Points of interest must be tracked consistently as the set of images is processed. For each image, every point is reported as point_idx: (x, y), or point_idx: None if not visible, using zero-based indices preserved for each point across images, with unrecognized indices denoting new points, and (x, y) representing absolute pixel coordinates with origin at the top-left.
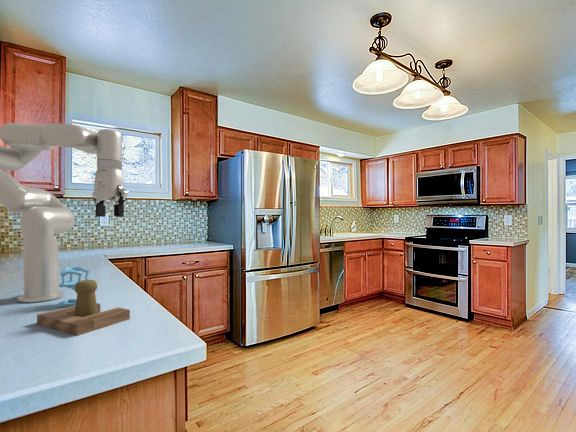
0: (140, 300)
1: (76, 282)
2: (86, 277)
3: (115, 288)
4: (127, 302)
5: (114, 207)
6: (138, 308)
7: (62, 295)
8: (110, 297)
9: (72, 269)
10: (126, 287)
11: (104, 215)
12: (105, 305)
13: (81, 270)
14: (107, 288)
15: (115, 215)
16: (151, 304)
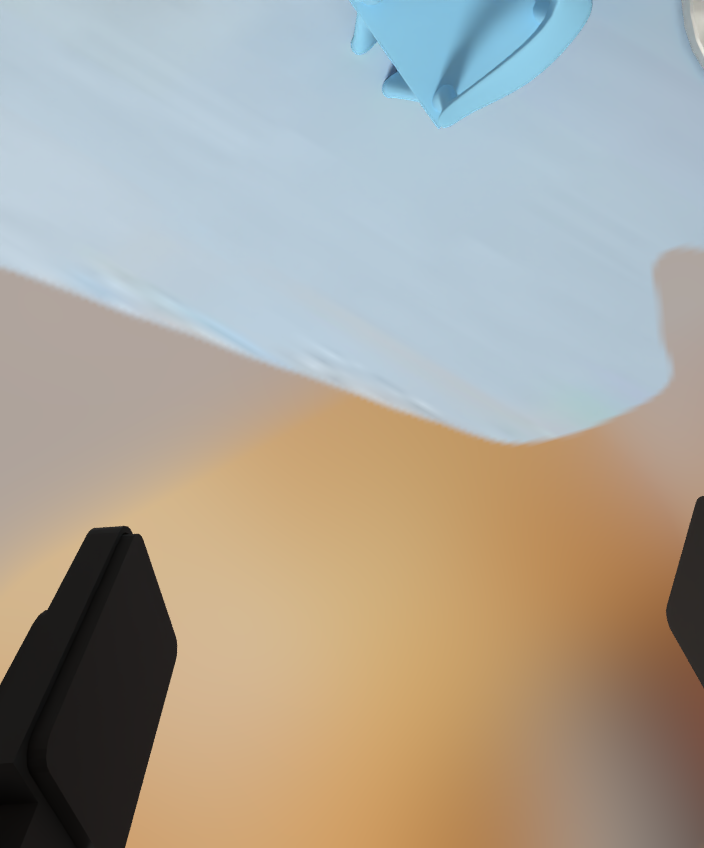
0: (188, 284)
1: (451, 8)
2: (438, 92)
3: (575, 370)
4: (203, 220)
5: (33, 685)
6: (26, 177)
7: (702, 64)
8: (398, 233)
9: (550, 5)
10: (537, 414)
11: (674, 615)
12: (239, 106)
13: (491, 70)
14: (621, 347)
15: (90, 542)
16: (58, 265)
